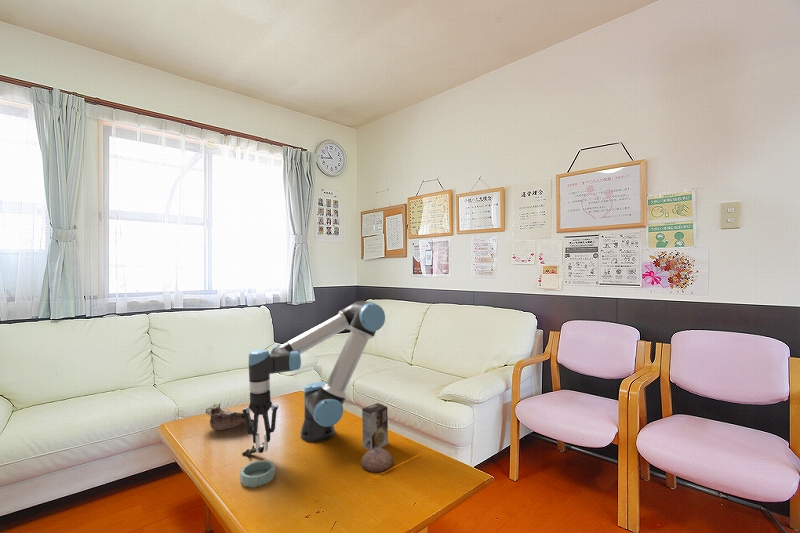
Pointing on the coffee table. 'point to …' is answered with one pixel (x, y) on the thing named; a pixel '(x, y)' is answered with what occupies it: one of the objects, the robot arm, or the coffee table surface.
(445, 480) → the coffee table surface
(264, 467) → the bowl
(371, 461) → the decorative stone
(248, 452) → the figurine
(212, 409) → the rock
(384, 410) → the coffee box
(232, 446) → the coffee table surface
